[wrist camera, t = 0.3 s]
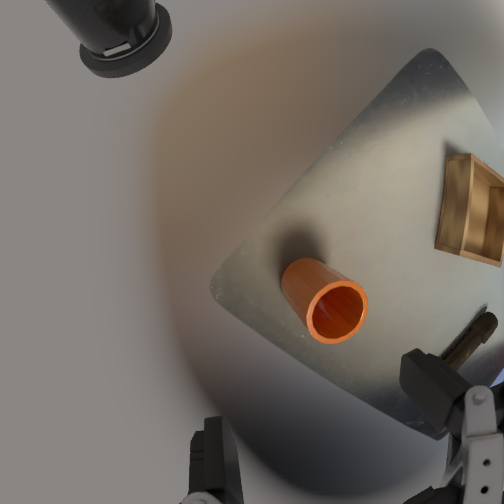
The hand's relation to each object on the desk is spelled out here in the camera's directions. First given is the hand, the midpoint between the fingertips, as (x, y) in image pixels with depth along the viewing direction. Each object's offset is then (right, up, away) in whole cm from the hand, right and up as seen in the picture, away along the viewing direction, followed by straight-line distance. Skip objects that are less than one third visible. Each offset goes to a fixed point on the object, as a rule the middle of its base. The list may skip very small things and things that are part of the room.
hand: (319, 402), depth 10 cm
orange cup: (+3, +3, +20) cm, 20 cm away
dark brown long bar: (+34, -10, +27) cm, 45 cm away
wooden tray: (+30, +12, +22) cm, 39 cm away
